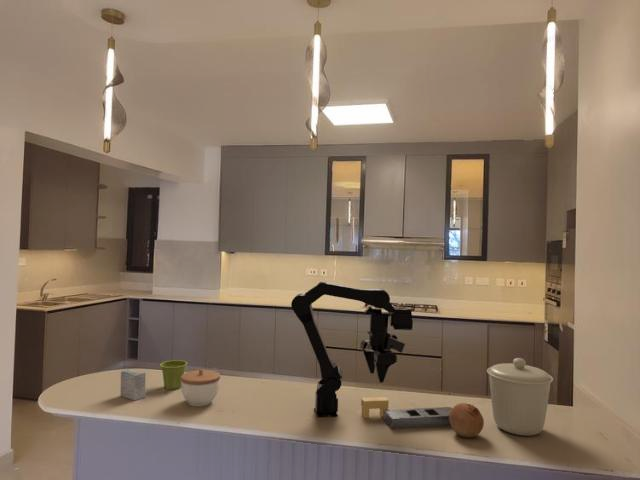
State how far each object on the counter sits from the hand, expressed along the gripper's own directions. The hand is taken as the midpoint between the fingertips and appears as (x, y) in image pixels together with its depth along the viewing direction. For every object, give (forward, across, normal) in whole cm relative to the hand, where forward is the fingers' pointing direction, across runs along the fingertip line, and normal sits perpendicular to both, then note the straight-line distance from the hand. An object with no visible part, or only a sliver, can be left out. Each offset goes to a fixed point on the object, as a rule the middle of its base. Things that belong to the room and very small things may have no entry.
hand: (376, 377), depth 141 cm
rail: (+12, -8, -13) cm, 19 cm away
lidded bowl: (+13, +18, +55) cm, 60 cm away
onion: (+12, -18, -21) cm, 30 cm away
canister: (+11, -16, -40) cm, 44 cm away
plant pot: (+14, +36, +66) cm, 76 cm away
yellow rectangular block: (+12, 0, 0) cm, 12 cm away
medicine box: (+14, +27, +78) cm, 83 cm away
